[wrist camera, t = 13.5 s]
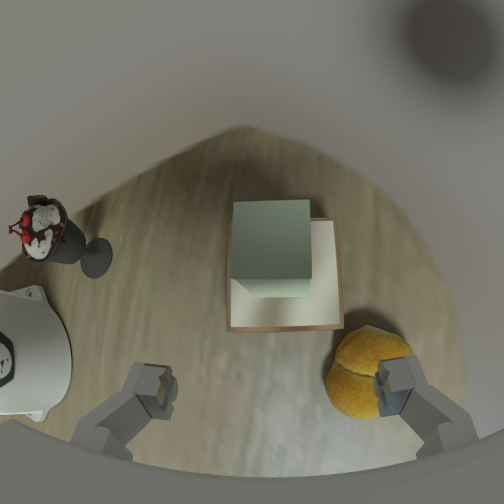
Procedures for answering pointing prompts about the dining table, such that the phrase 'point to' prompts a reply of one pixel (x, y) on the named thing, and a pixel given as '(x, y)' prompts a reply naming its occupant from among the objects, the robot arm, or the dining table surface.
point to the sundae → (59, 238)
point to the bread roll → (361, 370)
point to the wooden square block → (294, 308)
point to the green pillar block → (272, 247)
